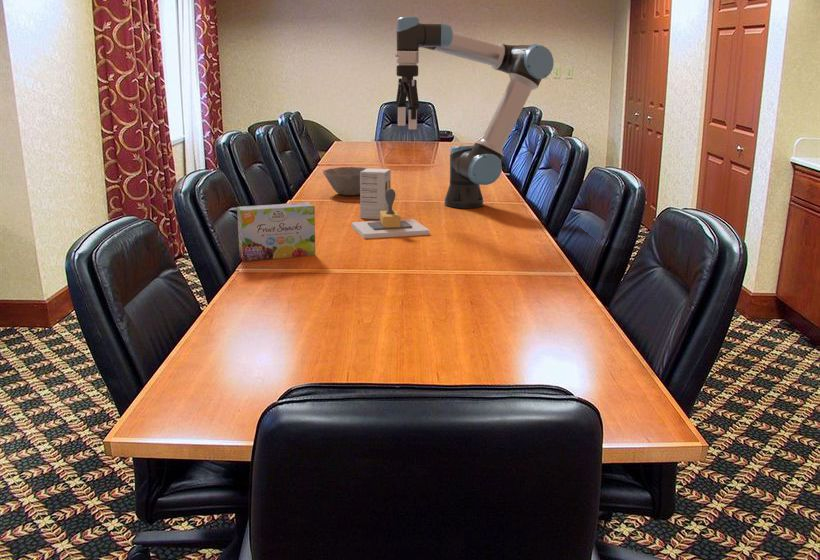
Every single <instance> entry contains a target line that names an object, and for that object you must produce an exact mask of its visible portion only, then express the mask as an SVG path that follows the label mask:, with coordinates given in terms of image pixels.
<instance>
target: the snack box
mask: <svg viewBox="0 0 820 560" xmlns="http://www.w3.org/2000/svg"><path fill="white" fill-rule="evenodd" d="M315 209H316V208H315V205H314V204H312V203H311V202H294V203H279V204H278V203H277V204H264V205H263V204H261V205H247V206H245V205H244V206H237V207H236V211H237V212H236V214H237V231H238V235H237V236H238V251H239V258H240V259H241V261H242V262H251V261H262V260H263V261H265V260H274V259H276V260H277V259H286V258H297V257H299V258H300V257H308V256H316V219H315V218H316V212H315V211H316V210H315Z"/></svg>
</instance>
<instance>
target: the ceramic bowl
mask: <svg viewBox="0 0 820 560" xmlns="http://www.w3.org/2000/svg"><path fill="white" fill-rule="evenodd" d="M365 169H370V167H369V168H366V167H360V166H359V167H357V166H356V167H355V166H345V167H343V166H341V167H334V168H328V169H327V168H326V169H324V170H322V173H323V175H324V176H325V178H326V180H327V181H328V183H329V184H330V186H331V188H332V189H333V191H335V192H336V193H337V194H338V195H342V196H358V195H360V172H361V171H363V170H365Z"/></svg>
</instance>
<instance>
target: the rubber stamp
mask: <svg viewBox="0 0 820 560" xmlns="http://www.w3.org/2000/svg"><path fill="white" fill-rule="evenodd" d="M385 198H386V201H387V204H388V211H380V219H379V221H380V222H381V224H382V226H383V227H384V228H387V227H400V220H401V215H400V214H399V212H398V211H397V210H394V209H393V205H394V202H395V201H396V191H395V190H394V189H393V188H391V189H387V190H386V192H385Z"/></svg>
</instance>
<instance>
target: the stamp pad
mask: <svg viewBox="0 0 820 560" xmlns="http://www.w3.org/2000/svg"><path fill="white" fill-rule="evenodd" d="M350 224H351V228H352V229H353V230H354V231H355V232H356V233H358V234H359V235H360V237H362V239H364V240H366V239H378V238H380V239H381V238H394V237H413V236H428V235H430V229H429V228H427V227H426V226H424V225H423V224H422V223H420V222H418V220H416V219H414V218H409V219H408V218H407V219H406V218H405V219H404V218H403V219H400V227H387V228H384V227H383V226H382V224H381V222H380V220H369V221H352V222H351V223H350Z"/></svg>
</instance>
